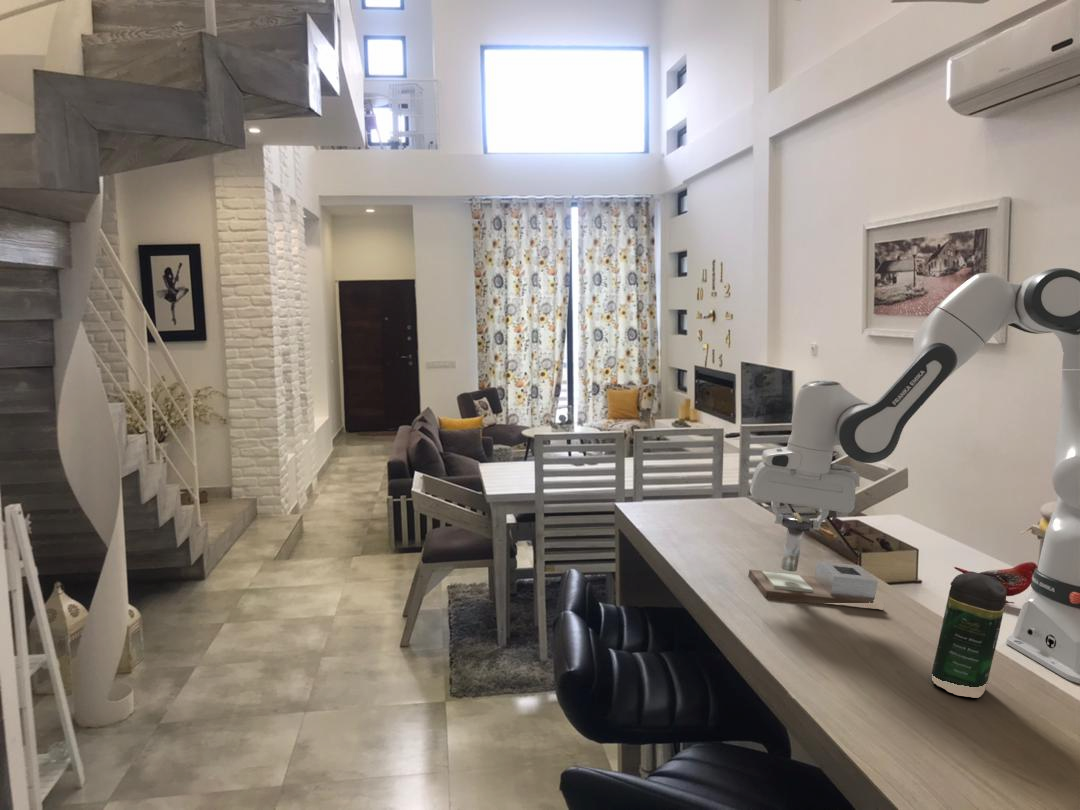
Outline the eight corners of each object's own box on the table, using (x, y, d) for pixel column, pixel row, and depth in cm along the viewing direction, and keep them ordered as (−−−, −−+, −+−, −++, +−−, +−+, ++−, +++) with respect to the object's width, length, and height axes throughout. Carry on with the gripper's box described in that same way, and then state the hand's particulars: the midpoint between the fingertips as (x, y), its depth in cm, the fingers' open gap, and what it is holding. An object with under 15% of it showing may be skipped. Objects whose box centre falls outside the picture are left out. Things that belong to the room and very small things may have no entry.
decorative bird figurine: (1037, 611, 172) (1047, 566, 170) (950, 596, 174) (959, 552, 173) (1031, 606, 175) (1041, 562, 173) (946, 591, 177) (955, 548, 176)
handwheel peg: (801, 566, 167) (810, 514, 166) (806, 576, 161) (816, 522, 160) (771, 561, 168) (780, 509, 166) (775, 570, 162) (785, 517, 161)
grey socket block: (874, 599, 161) (877, 580, 161) (830, 595, 161) (834, 576, 160) (855, 583, 170) (859, 565, 170) (814, 578, 170) (817, 560, 169)
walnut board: (883, 610, 160) (885, 600, 160) (765, 598, 159) (767, 587, 159) (858, 588, 172) (860, 578, 172) (748, 576, 171) (749, 566, 171)
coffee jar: (981, 707, 123) (1006, 592, 121) (926, 687, 128) (948, 576, 125) (988, 686, 131) (1012, 577, 129) (936, 668, 136) (957, 563, 133)
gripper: (857, 464, 163) (845, 530, 165) (755, 449, 166) (744, 514, 168) (865, 471, 157) (852, 539, 159) (758, 455, 160) (747, 522, 162)
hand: (796, 526), depth 163 cm, fingers closed on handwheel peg, 6 cm apart
